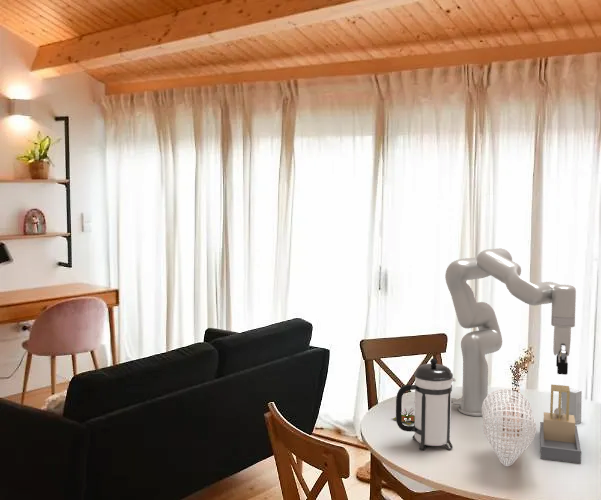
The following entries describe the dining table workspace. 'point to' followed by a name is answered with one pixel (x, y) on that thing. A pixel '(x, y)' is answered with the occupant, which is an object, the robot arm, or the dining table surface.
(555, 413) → the ball
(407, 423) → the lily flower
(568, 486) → the dining table surface
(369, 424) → the dining table surface
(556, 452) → the shaker tray
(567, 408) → the tan slotted block
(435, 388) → the coffee press
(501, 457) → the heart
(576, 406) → the skincare box
